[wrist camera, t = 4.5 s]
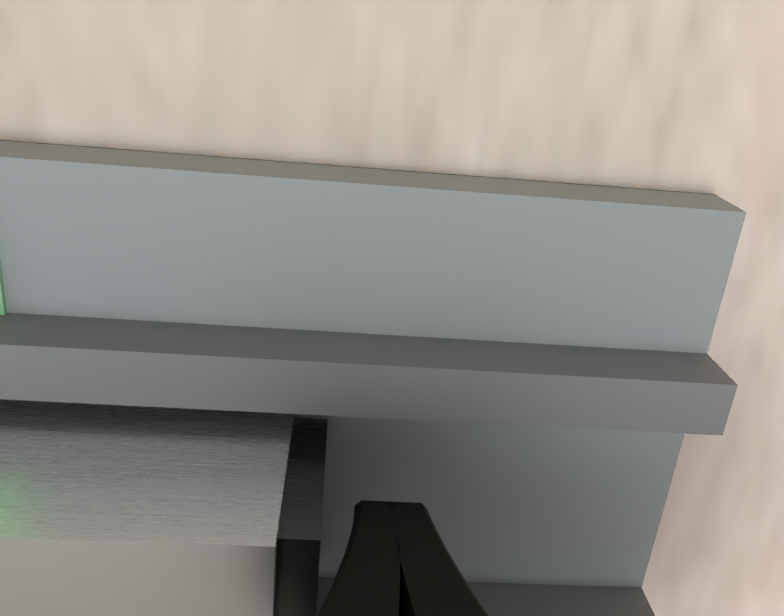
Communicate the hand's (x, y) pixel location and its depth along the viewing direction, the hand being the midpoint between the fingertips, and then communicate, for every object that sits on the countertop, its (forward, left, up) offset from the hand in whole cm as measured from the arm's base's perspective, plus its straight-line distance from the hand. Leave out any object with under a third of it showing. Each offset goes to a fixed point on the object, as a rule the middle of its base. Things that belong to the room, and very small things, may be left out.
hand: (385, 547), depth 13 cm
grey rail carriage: (0, +4, -2) cm, 5 cm away
